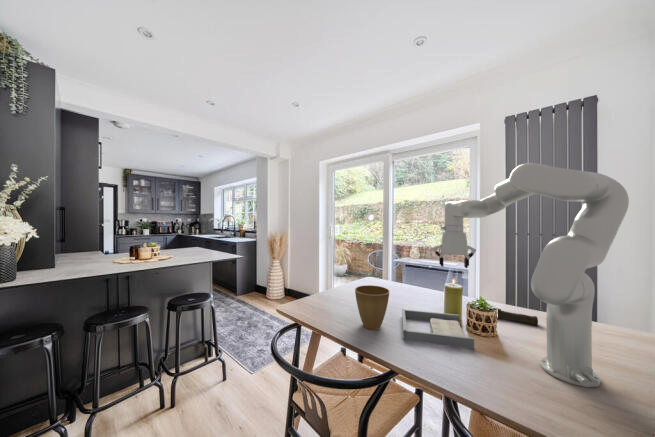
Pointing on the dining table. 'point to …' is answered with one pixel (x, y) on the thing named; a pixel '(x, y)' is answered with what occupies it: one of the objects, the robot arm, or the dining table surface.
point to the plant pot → (372, 305)
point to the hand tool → (518, 317)
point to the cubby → (433, 337)
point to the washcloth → (446, 327)
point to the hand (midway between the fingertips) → (453, 266)
